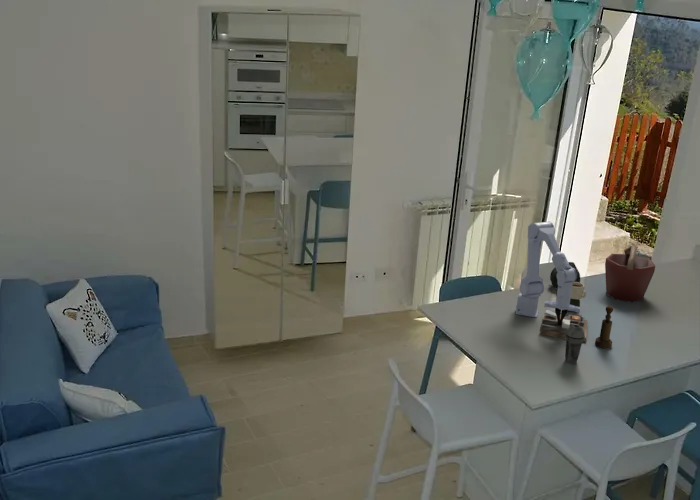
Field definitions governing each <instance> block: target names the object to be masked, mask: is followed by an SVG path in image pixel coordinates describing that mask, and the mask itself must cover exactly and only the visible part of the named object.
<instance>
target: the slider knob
mask: <svg viewBox="0 0 700 500" xmlns="http://www.w3.org/2000/svg"><path fill="white" fill-rule="evenodd" d="M569 325H570V320H565V319H563V322H562V328H567V329H568V328H569Z"/></svg>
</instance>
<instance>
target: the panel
mask: <svg viewBox="0 0 700 500" xmlns="http://www.w3.org/2000/svg"><path fill="white" fill-rule="evenodd" d="M572 316H576V315H573V314H568V316H567V315H566V316H565V317H564V319H565V320H570V325H569V327H570V326H572V325H578V322H579V321H574V320H571V319H572ZM577 316H578V317H580V316H581V315H577ZM585 318H586V317H585V316H582V317H581V322H580V324H579V326H580V327H582V329H583V330H584V334H585V338H584V340H583V342H582V343H586V342H587V337H588V336H587V335H588V326H589V325H588V323H589V320H588V319H585ZM560 319H561V315H560ZM541 320H542V321H541V324H540V329H539V335H542V336H543V335H544V336H548V337H549V336H550V337H555V338H559V339H560V338H561V339H565V340H566V331H567V328H562V323H561V326H560V325H558V320H557V317H556V318H554V317H551V316H548V315H545V312H544V314H543V316H542V319H541ZM562 322H563V321H562Z"/></svg>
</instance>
